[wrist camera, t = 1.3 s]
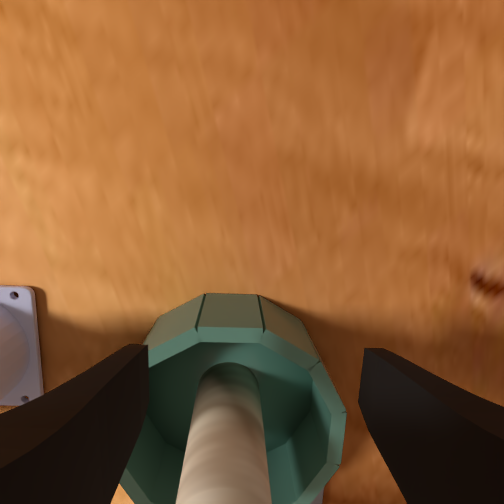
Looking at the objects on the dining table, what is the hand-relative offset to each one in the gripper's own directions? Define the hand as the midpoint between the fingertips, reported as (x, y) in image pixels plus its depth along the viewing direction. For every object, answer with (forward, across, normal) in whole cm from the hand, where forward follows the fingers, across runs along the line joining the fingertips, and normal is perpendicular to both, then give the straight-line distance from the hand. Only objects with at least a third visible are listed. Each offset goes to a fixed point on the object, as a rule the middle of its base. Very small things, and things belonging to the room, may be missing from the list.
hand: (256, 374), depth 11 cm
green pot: (+10, +1, +7) cm, 13 cm away
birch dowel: (+10, +1, +7) cm, 12 cm away
